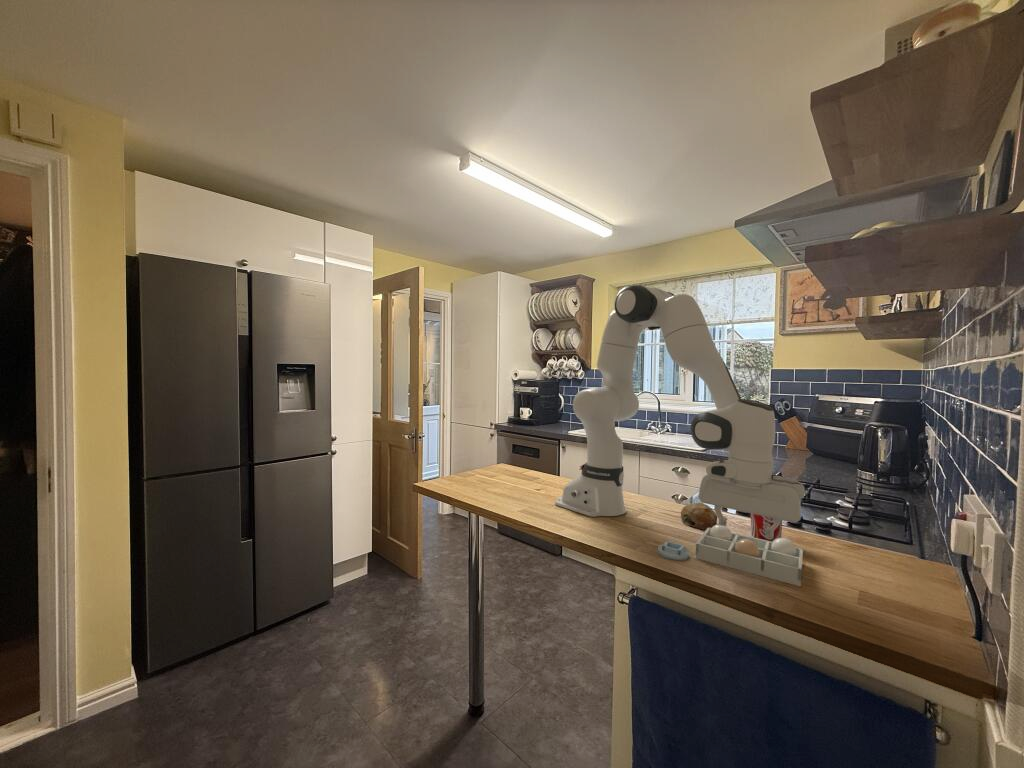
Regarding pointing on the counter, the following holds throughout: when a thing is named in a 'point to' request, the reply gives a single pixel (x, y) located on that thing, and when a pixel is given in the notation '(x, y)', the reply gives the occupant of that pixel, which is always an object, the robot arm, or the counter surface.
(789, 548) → the white egg right
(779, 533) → the soda can
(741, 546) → the brown egg
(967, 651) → the counter surface
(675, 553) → the eggcup
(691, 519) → the bread roll
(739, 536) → the carton
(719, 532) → the white egg left
